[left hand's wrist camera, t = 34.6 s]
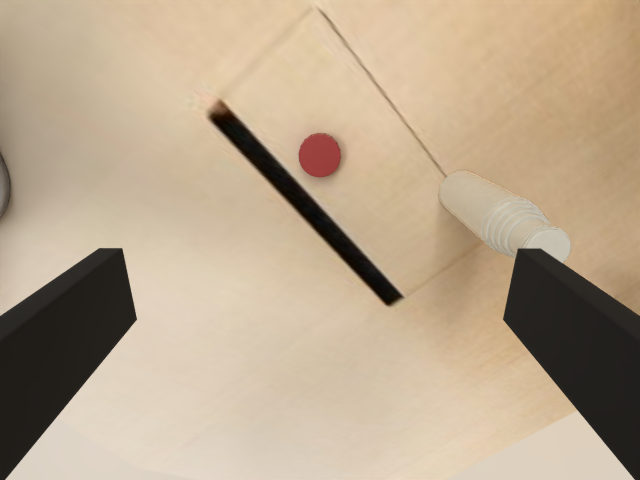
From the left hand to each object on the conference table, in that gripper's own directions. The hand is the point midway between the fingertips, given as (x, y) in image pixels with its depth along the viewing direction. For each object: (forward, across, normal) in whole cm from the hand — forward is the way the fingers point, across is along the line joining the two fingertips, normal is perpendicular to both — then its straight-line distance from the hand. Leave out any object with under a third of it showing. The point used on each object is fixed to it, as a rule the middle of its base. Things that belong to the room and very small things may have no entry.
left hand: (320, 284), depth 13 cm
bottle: (+31, +16, -4) cm, 35 cm away
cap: (+30, 0, 0) cm, 30 cm away
